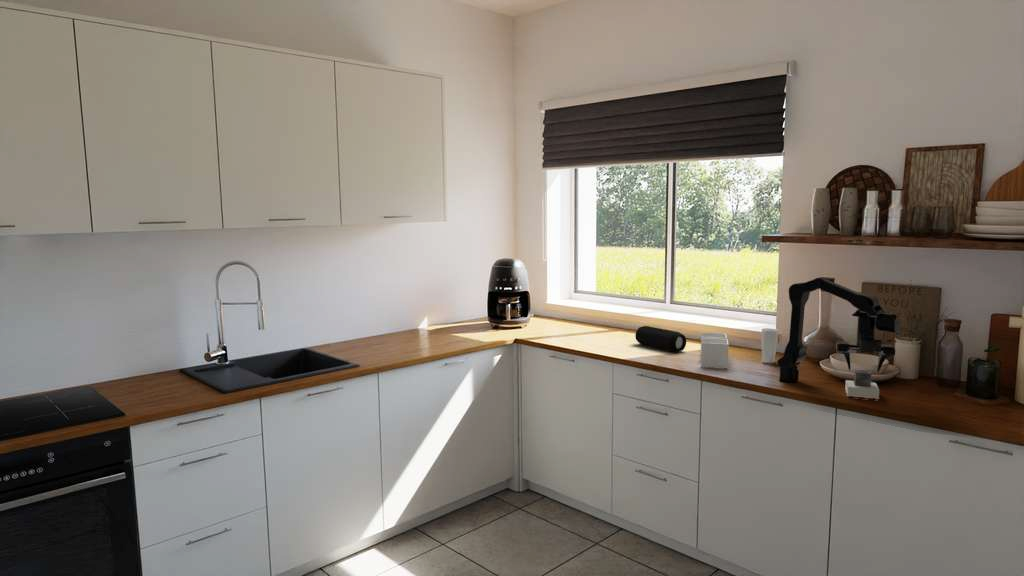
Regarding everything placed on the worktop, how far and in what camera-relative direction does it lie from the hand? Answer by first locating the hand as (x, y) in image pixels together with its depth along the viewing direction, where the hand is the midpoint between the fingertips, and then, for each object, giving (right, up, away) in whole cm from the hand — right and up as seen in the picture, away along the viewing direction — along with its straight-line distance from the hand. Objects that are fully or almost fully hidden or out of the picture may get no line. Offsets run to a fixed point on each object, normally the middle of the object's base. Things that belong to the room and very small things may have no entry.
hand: (863, 371), depth 237 cm
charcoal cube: (0, -5, +1) cm, 5 cm away
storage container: (-38, -3, +55) cm, 67 cm away
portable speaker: (-56, 0, +82) cm, 100 cm away
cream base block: (0, -9, +1) cm, 9 cm away
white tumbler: (-14, -3, +52) cm, 54 cm away
